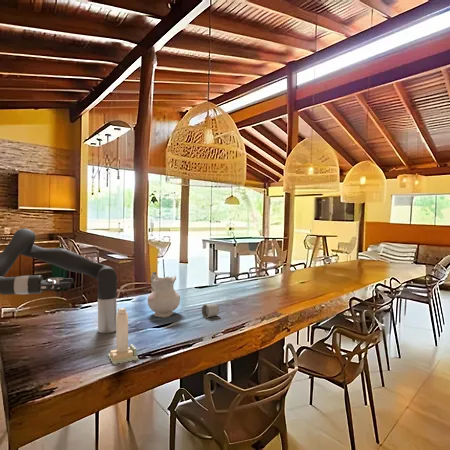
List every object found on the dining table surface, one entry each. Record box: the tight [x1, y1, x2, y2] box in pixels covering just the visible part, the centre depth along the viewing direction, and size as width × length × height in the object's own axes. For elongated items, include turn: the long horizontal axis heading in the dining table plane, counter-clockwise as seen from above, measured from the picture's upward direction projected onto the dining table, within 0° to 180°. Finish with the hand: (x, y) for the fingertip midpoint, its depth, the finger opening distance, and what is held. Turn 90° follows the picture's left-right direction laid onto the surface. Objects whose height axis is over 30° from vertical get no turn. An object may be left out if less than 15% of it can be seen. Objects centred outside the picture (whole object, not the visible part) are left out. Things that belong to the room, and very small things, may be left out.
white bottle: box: [115, 307, 129, 353], centre depth 149 cm, size 5×5×18 cm
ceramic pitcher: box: [147, 271, 181, 319], centre depth 211 cm, size 22×20×25 cm
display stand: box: [107, 343, 139, 365], centre depth 149 cm, size 10×10×4 cm
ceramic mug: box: [201, 303, 220, 318], centre depth 209 cm, size 11×8×8 cm
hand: (71, 282), depth 148 cm, fingers open, 8 cm apart
